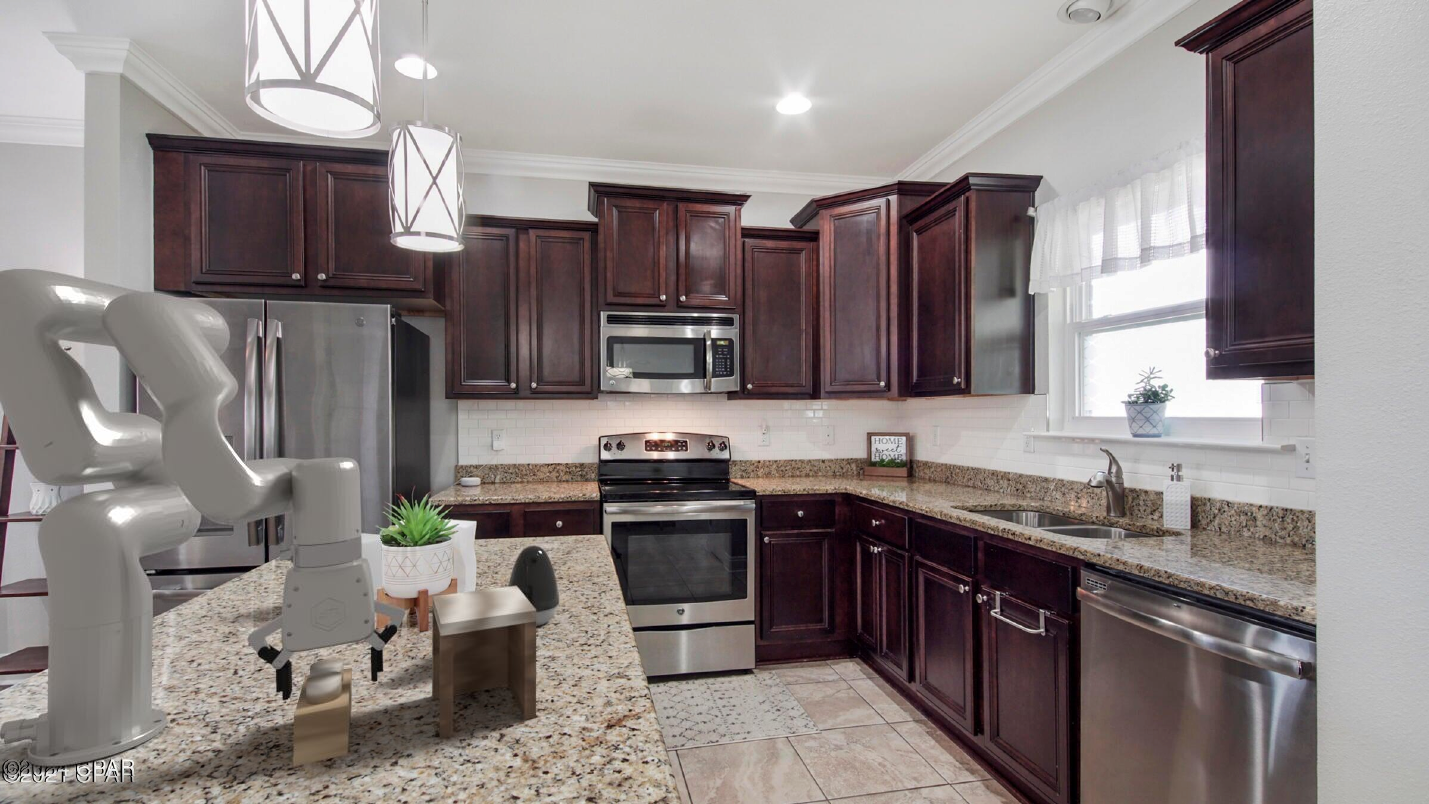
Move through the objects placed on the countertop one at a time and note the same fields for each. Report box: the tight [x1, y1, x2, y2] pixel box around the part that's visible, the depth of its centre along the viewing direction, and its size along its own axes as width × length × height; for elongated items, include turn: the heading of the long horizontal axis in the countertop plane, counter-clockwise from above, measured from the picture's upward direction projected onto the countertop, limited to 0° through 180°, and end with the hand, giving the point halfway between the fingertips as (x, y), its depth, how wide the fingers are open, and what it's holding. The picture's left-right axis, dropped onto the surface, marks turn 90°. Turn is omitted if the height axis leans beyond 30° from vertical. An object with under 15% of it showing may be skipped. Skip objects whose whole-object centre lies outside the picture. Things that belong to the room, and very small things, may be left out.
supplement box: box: [361, 532, 382, 600], centre depth 136 cm, size 9×9×15 cm
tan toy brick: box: [292, 657, 353, 767], centre depth 81 cm, size 13×6×8 cm, turn 28°
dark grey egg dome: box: [507, 545, 560, 627], centre depth 125 cm, size 10×10×15 cm
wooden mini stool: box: [431, 586, 537, 740], centre depth 89 cm, size 12×14×14 cm
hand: (332, 686), depth 81 cm, fingers open, 9 cm apart
